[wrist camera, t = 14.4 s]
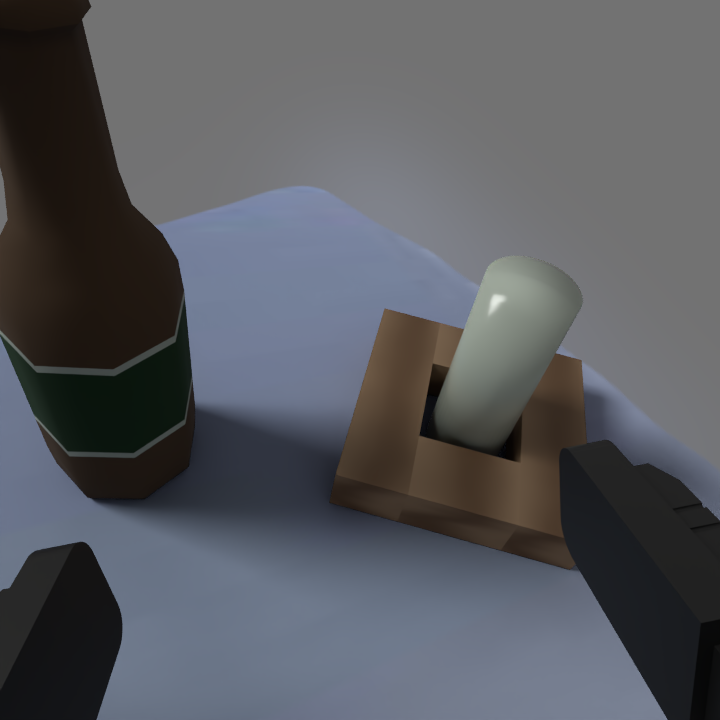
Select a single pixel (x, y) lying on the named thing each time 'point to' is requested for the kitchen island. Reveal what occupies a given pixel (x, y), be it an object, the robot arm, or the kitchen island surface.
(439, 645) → the kitchen island surface
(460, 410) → the pale green cylinder
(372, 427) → the walnut block
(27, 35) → the beer bottle
